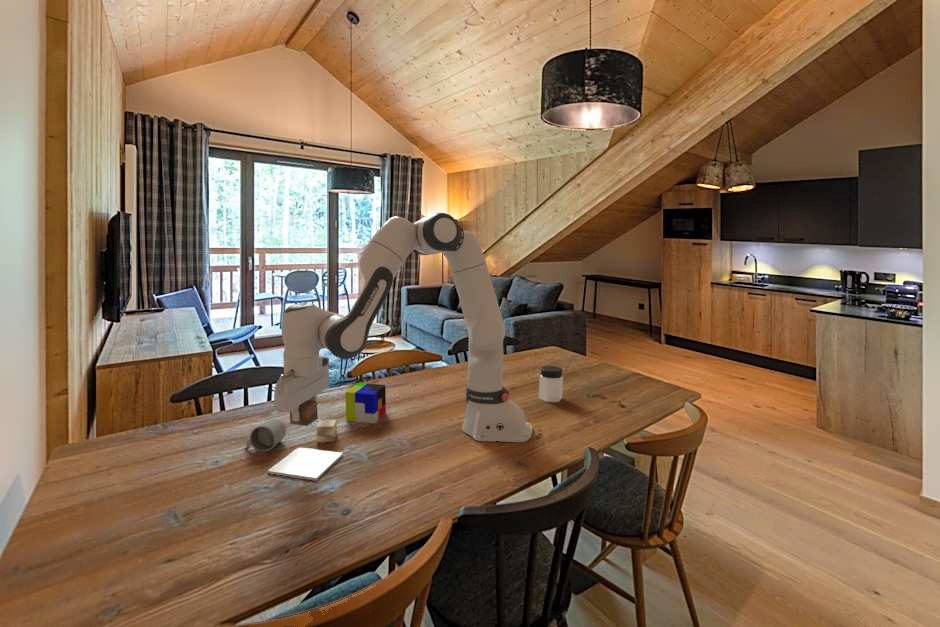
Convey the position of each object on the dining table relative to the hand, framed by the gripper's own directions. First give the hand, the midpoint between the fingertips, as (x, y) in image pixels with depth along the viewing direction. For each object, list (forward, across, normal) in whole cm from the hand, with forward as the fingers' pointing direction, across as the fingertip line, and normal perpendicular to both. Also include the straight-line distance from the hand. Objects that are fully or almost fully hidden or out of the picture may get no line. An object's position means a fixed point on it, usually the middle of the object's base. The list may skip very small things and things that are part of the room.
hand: (304, 415), depth 126 cm
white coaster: (+14, 0, 0) cm, 14 cm away
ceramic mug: (+14, +7, +18) cm, 24 cm away
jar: (+14, +69, -61) cm, 93 cm away
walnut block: (+2, 0, 0) cm, 2 cm away
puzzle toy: (+14, +35, -1) cm, 38 cm away
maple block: (+14, +16, +3) cm, 21 cm away
